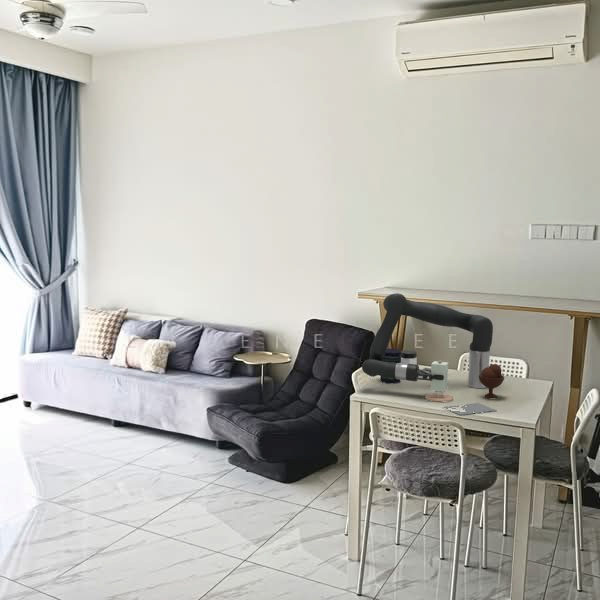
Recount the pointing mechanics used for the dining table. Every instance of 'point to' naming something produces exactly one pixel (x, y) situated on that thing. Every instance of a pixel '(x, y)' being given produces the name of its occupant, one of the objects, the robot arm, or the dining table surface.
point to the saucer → (432, 397)
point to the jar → (408, 357)
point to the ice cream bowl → (491, 378)
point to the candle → (439, 393)
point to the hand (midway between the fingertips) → (444, 376)
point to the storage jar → (393, 357)
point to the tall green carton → (439, 369)
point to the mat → (471, 409)
